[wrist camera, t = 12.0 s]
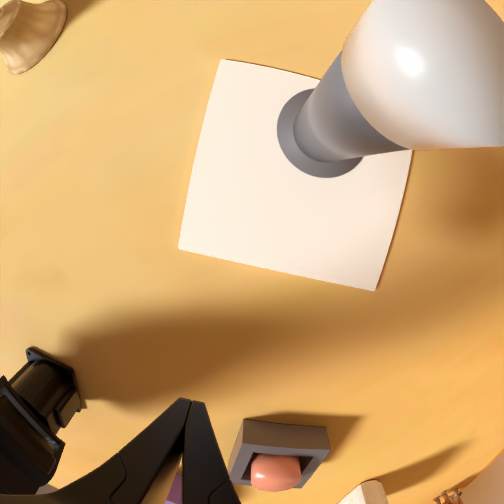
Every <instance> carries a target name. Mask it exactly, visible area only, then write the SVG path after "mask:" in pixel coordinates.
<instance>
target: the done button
mask: <svg viewBox="0 0 504 504" xmlns="http://www.w3.org/2000/svg"><path fill="white" fill-rule="evenodd" d="M300 482H301V471H300V463H299V456H289V455H276V454H265V453H256V452H253V454H252V456H251V484H252V486H253V487H255V488H257V489H259V490H263V491H272V492H274V491H284V490H288V489H291V488H293V487H295V486H297V485H298V484H299V483H300Z"/></svg>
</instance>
